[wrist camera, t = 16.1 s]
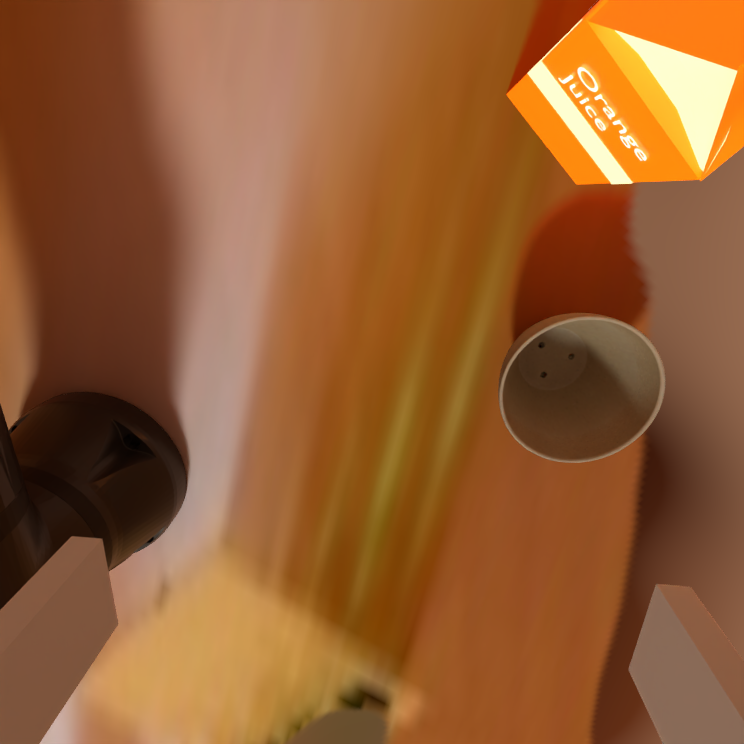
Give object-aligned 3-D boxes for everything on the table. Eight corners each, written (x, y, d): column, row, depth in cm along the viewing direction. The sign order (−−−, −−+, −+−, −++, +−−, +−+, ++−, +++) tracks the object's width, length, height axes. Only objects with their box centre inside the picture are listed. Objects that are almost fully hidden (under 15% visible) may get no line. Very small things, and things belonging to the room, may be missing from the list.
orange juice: (503, 93, 31) (654, -55, 12) (623, -27, 28) (1043, -445, 10) (577, 187, 33) (808, 182, 14) (696, 82, 30) (1174, -97, 11)
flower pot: (550, 263, 34) (585, 281, 28) (646, 349, 36) (701, 385, 29) (456, 364, 38) (466, 402, 31) (548, 439, 39) (577, 490, 33)
